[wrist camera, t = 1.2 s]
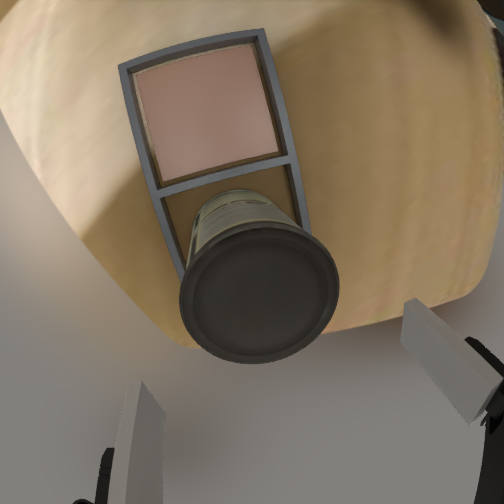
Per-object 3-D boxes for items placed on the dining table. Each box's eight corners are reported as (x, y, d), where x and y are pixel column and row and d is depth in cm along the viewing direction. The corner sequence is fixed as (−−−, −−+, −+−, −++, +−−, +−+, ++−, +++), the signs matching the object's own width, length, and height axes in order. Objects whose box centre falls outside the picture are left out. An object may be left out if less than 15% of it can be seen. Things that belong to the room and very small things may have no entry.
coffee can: (299, 252, 32) (355, 322, 19) (220, 293, 32) (230, 383, 19) (261, 170, 28) (307, 191, 15) (173, 217, 28) (145, 277, 15)
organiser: (260, 35, 22) (263, 28, 20) (313, 275, 33) (318, 282, 31) (123, 70, 22) (117, 65, 20) (195, 308, 32) (195, 317, 31)
